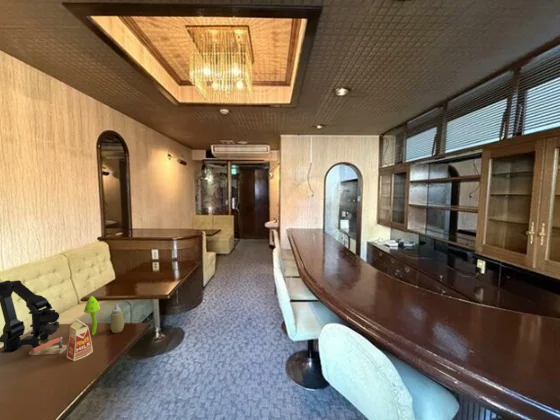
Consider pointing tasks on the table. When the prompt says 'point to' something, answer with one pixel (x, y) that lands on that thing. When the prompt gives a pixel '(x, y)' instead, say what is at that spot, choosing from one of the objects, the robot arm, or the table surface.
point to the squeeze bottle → (116, 320)
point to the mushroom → (92, 311)
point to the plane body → (51, 350)
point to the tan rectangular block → (44, 343)
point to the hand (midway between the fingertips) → (40, 348)
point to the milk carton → (79, 341)
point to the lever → (47, 344)
